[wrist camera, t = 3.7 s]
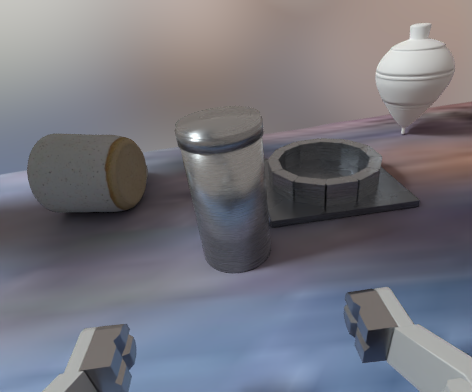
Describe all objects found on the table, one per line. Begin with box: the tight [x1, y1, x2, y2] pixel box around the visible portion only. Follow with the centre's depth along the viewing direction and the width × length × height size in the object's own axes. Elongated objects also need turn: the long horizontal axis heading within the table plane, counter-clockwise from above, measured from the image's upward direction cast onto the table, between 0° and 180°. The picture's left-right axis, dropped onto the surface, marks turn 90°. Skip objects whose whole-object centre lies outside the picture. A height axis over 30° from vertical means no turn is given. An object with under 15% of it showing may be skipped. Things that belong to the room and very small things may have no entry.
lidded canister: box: [175, 106, 271, 273], centre depth 20 cm, size 5×5×10 cm
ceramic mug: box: [27, 134, 148, 212], centre depth 31 cm, size 11×8×8 cm
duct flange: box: [264, 138, 420, 227], centre depth 29 cm, size 12×12×3 cm
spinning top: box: [376, 23, 455, 135], centre depth 35 cm, size 8×8×12 cm
